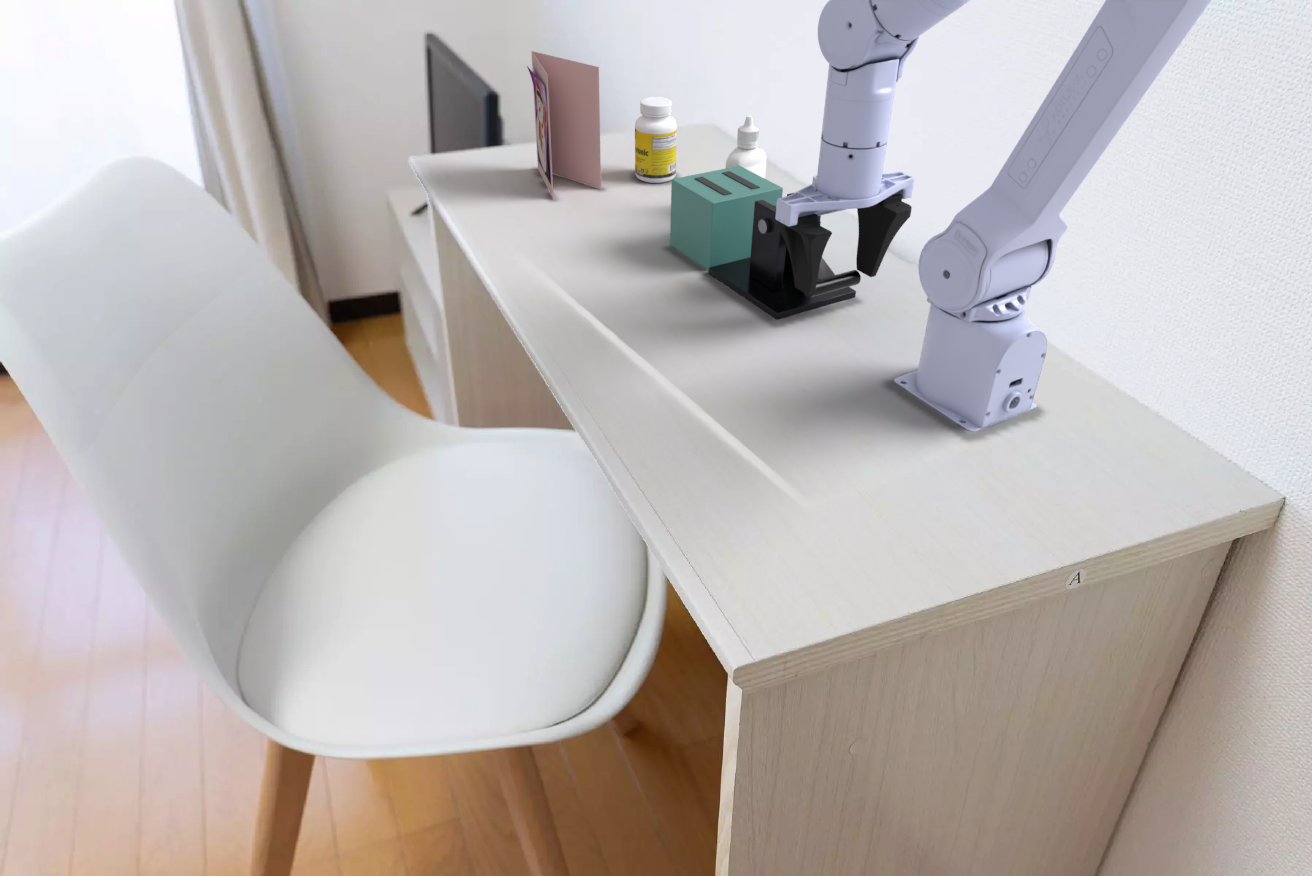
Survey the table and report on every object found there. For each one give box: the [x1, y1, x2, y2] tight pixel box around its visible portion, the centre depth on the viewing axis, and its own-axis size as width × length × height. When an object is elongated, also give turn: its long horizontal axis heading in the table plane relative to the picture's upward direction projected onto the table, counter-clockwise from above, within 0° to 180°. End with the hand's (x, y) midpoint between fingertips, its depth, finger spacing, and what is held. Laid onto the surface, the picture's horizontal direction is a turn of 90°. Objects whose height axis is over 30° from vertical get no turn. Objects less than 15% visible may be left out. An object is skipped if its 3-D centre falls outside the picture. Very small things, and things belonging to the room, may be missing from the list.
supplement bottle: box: [634, 96, 678, 184], centre depth 125 cm, size 5×5×10 cm
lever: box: [774, 204, 862, 298], centre depth 95 cm, size 11×6×2 cm, turn 31°
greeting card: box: [526, 50, 602, 199], centre depth 121 cm, size 11×7×15 cm, turn 15°
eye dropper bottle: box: [725, 115, 767, 179], centre depth 113 cm, size 4×6×12 cm
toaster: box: [669, 166, 784, 271], centre depth 105 cm, size 8×9×8 cm
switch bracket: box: [707, 192, 857, 321], centre depth 98 cm, size 12×10×9 cm
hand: (835, 281), depth 92 cm, fingers open, 7 cm apart
